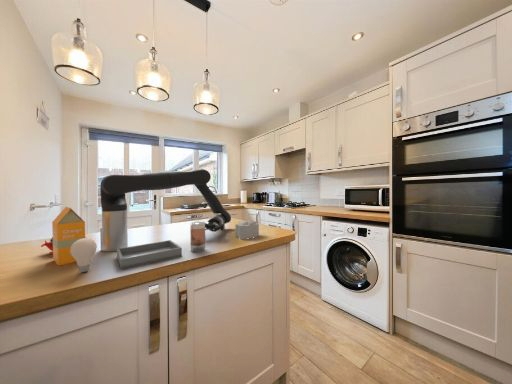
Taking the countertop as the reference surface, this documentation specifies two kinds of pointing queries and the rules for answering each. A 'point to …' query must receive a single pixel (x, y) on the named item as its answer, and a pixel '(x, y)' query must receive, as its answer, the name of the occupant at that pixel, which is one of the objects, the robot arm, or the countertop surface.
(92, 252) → the light bulb
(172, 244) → the tote
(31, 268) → the countertop surface
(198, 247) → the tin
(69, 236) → the orange juice
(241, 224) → the grey rough block
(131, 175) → the robot arm
